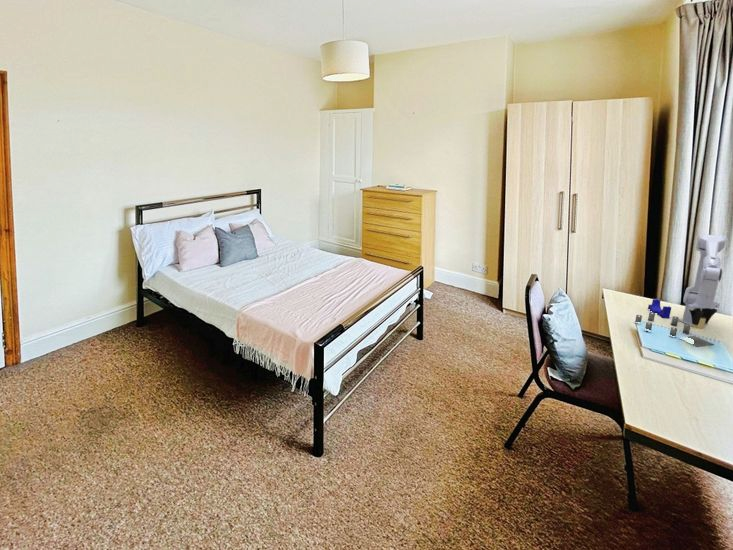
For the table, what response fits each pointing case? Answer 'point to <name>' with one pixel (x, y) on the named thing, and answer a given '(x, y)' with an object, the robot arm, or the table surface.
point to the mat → (699, 341)
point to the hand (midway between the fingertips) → (699, 323)
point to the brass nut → (700, 323)
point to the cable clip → (659, 309)
